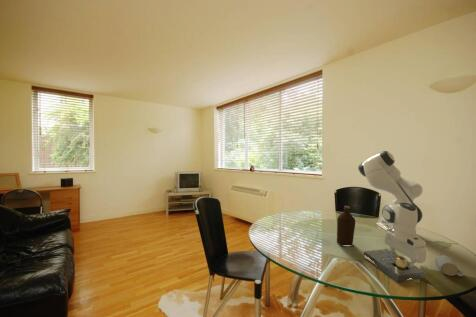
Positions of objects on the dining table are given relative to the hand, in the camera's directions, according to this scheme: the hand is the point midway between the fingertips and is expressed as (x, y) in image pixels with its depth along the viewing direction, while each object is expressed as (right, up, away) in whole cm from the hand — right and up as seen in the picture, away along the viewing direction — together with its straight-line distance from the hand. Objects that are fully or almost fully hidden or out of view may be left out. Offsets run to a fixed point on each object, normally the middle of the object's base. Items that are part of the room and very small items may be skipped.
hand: (401, 260), depth 115 cm
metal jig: (-1, -6, +6) cm, 8 cm away
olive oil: (-15, -3, +31) cm, 34 cm away
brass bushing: (0, -7, +1) cm, 7 cm away
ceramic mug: (+25, -7, +1) cm, 27 cm away
